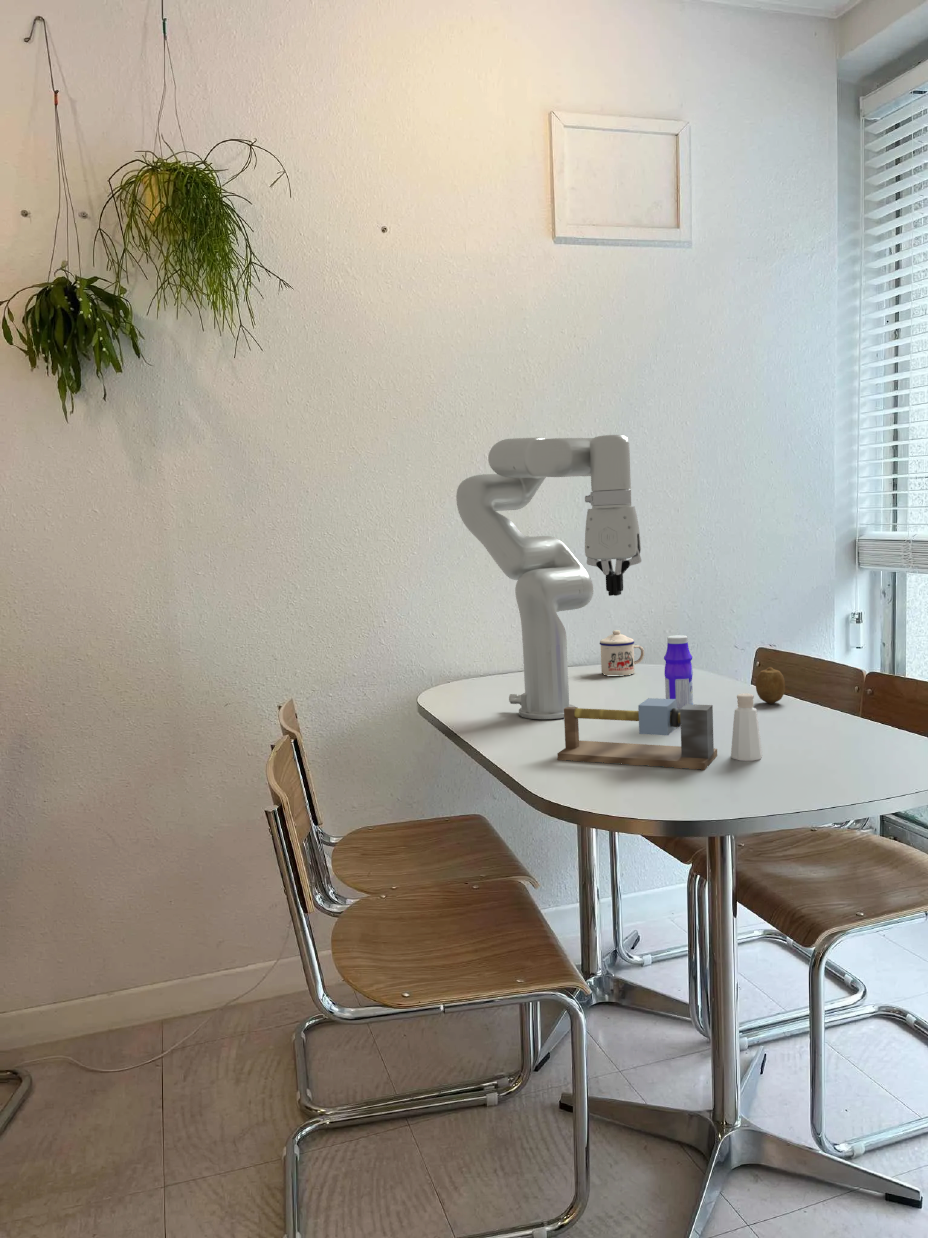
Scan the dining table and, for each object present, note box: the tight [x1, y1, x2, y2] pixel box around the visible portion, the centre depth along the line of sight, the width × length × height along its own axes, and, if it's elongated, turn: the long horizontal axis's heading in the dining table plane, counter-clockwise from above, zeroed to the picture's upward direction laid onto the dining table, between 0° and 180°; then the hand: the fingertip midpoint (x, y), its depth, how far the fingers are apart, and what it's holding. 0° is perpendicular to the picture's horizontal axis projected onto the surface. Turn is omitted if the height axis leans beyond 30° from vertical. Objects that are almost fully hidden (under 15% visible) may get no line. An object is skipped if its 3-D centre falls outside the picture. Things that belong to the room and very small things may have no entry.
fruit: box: [755, 666, 786, 705], centre depth 211 cm, size 6×6×8 cm
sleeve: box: [637, 697, 678, 736], centre depth 170 cm, size 5×6×5 cm
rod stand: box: [556, 703, 718, 771], centre depth 172 cm, size 26×10×10 cm, turn 64°
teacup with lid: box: [599, 629, 645, 675], centre depth 258 cm, size 12×9×12 cm
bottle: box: [663, 634, 694, 709], centre depth 199 cm, size 7×6×17 cm
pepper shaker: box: [730, 692, 763, 762], centre depth 168 cm, size 5×5×11 cm
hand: (614, 594), depth 190 cm, fingers closed
